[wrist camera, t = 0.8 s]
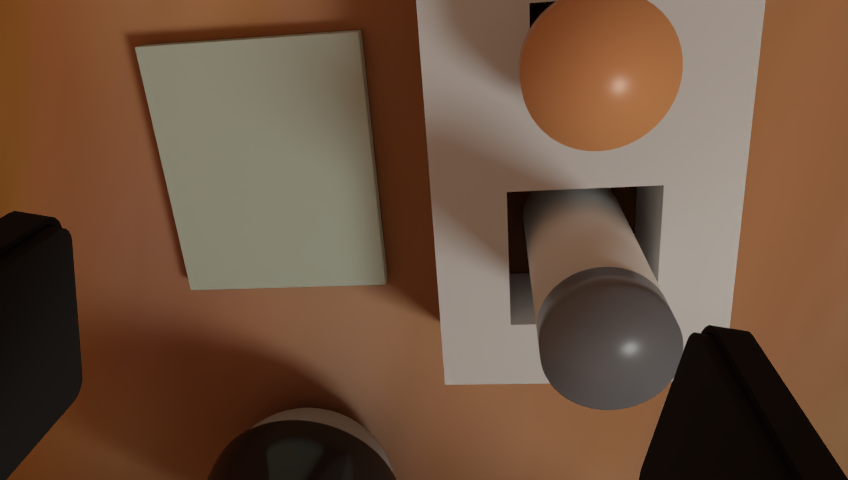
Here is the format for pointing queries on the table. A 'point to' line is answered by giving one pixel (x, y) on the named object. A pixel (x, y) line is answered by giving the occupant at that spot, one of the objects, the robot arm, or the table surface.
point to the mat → (268, 159)
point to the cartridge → (596, 301)
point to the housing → (578, 173)
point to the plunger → (600, 71)
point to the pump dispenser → (304, 450)
